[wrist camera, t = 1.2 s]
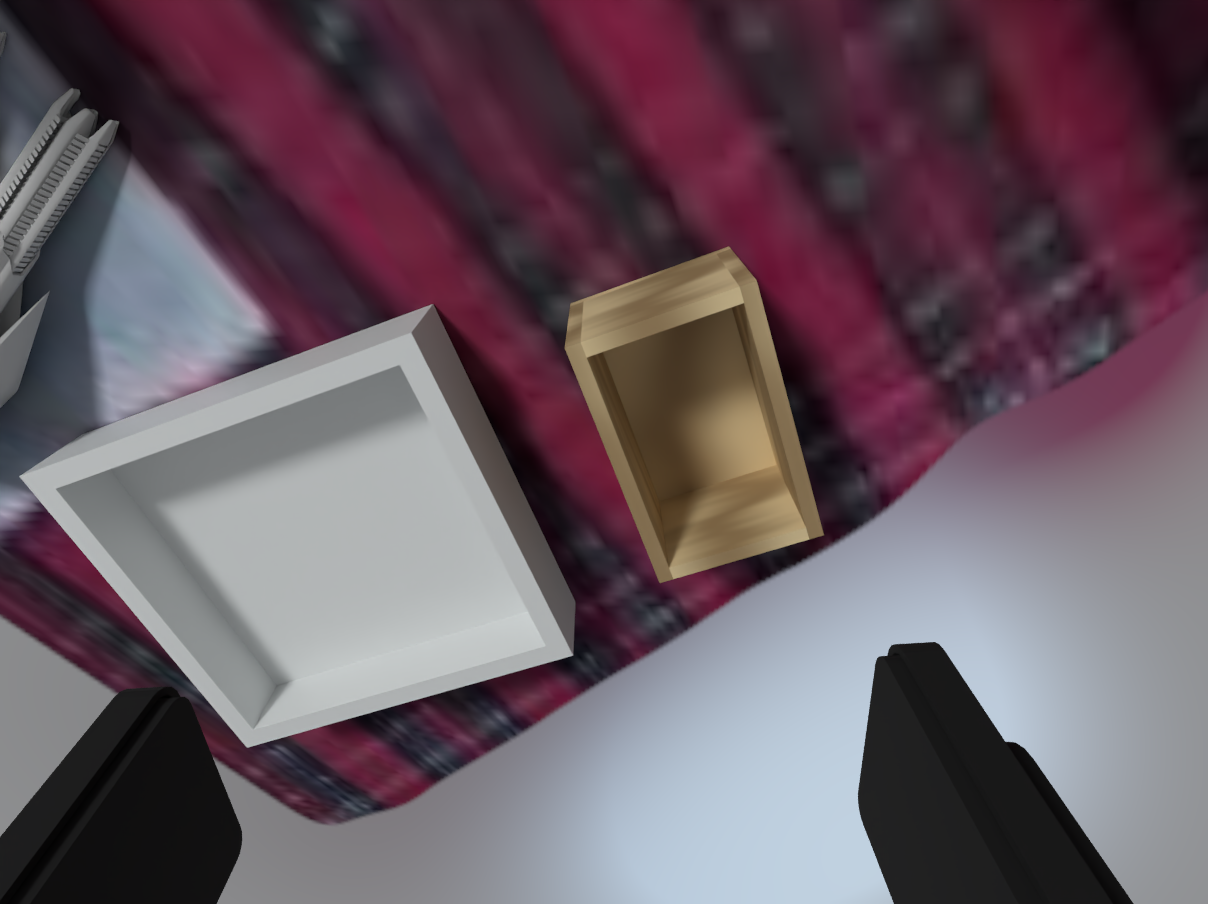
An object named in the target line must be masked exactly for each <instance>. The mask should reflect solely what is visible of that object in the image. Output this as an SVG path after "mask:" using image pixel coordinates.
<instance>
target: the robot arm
mask: <svg viewBox="0 0 1208 904" xmlns="http://www.w3.org/2000/svg"><path fill="white" fill-rule="evenodd" d="M858 804H859V810H860V815H861V819H862V822H863V825H864V828H865V830H866V833H867V835H868V838H869V840H870V843H871V846H872V848H873V851H874V853H875V856H876V858H877V861H878V864H879V866H880V869H881V871H882V874H883V877H884V879H885V882H886V884H887V887H888V889H889V892H890V895H891V896H892V900H893V902H894V904H1133V902H1132V901H1131V900H1130V898H1129V897H1128V895H1127V894H1126V892H1125V891H1124V889H1123V888H1122V886H1121V885H1120V884H1119V882H1118V881H1117V879H1116V878H1115V877H1114V875H1113V873H1112V872H1111V870H1110V869H1109V868H1108V866H1107V865H1106V863H1105V862H1104V860H1103V859H1102V857H1101V856H1100V855H1099V853H1098V852H1097V850H1096V849H1095V847H1094V846H1093V844H1092V843H1091V842H1090V840H1089V839H1088V837H1087V836H1086V834H1085V833H1084V832H1083V830H1082V829H1081V827H1080V826H1079V824H1078V823H1077V821H1076V820H1075V818H1074V817H1073V816H1072V814H1071V813H1070V811H1069V810H1068V808H1067V807H1066V806H1065V804H1064V803H1063V801H1062V800H1061V798H1060V797H1059V795H1058V794H1057V792H1056V791H1055V789H1054V788H1053V787H1052V785H1051V784H1050V782H1049V781H1048V779H1047V778H1046V776H1045V775H1044V774H1043V772H1042V771H1041V770H1040V768H1039V766H1038V765H1037V763H1036V762H1035V761H1034V759H1033V758H1032V757H1031V756H1030V755H1029V753H1028V752H1027V751H1026V750H1025V749H1024V748H1023V747H1021V746H1020V745H1018V744H1017V743H1014V742H1005V741H1004V739H1003V738H1002V736H1001V735H1000V733H999V732H998V730H997V729H996V727H995V726H994V724H993V723H992V721H991V720H990V718H989V717H988V715H987V714H986V712H985V711H984V709H983V708H982V706H981V705H980V703H979V702H978V700H977V699H976V697H975V696H974V694H973V693H972V691H971V690H970V688H969V687H968V685H967V684H966V682H965V681H964V679H963V678H962V676H961V675H960V673H959V672H958V670H957V669H956V667H955V666H954V664H953V663H952V661H951V660H950V658H949V657H948V655H947V654H946V652H945V651H944V650H943V648H942V647H941V646H940V645H939V644H937V643H936V642H928V643H911V644H895V645H892V646H891V647H890V649H889V652H888V656H881V657H878V658H877V661H876V664H875V672H874V679H873V686H872V694H871V701H870V709H869V716H868V723H867V731H866V739H865V746H864V753H863V761H862V768H861V776H860V783H859V790H858ZM241 845H242V831H241V827H240V824H239V822H238V819H237V817H236V814H235V812H234V809H233V807H232V804H231V802H230V799H229V797H228V794H227V792H226V789H225V787H224V785H223V782H222V780H221V777H220V775H219V772H218V770H217V767H216V765H215V762H214V760H213V757H212V755H211V752H210V750H209V747H208V745H207V742H206V740H205V737H204V735H203V732H202V730H201V727H200V725H199V722H198V720H197V717H196V715H195V712H194V710H193V708H192V705H191V703H190V701H189V700H188V699H187V698H185V697H180V695H179V694H178V692H177V690H175V689H174V688H172V687H153V688H136V689H126V690H123V691H121V692H119V693H118V694H117V695H116V696H115V697H114V698H113V700H112V701H111V702H110V703H109V704H108V705H107V707H106V708H105V709H104V710H103V712H102V713H101V714H100V715H99V717H98V718H97V719H96V720H95V721H94V723H93V724H92V725H91V726H90V728H89V729H88V730H87V731H86V732H85V734H84V735H83V736H82V737H81V739H80V740H79V741H78V742H77V743H76V745H75V746H74V747H73V748H72V750H71V751H70V752H69V753H68V755H67V756H66V757H65V758H64V760H63V761H62V762H61V763H60V764H59V766H58V767H57V768H56V769H55V771H54V772H53V773H52V774H51V775H50V777H49V778H48V779H47V780H46V782H45V783H44V784H43V785H42V786H41V788H40V789H39V790H38V791H37V793H36V794H35V795H34V796H33V798H32V799H31V800H30V801H29V803H28V804H27V805H26V806H25V807H24V808H23V810H22V811H21V812H20V813H19V815H18V816H17V817H16V818H15V820H14V821H13V822H12V823H11V824H10V826H9V827H8V828H7V829H6V831H5V832H4V833H3V834H2V835H1V837H0V904H217V902H218V899H219V897H220V895H221V893H222V891H223V889H224V887H225V885H226V883H227V881H228V878H229V876H230V874H231V872H232V870H233V868H234V866H235V864H236V861H237V859H238V857H239V854H240V850H241Z"/></svg>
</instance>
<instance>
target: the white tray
mask: <svg viewBox="0 0 1208 904" xmlns="http://www.w3.org/2000/svg"><path fill="white" fill-rule="evenodd" d="M19 477H20V478H21V479H22V480H23V482H24V483H25V484H26V485H27V486H28V488H29V489H30V490H31V491H32V492H33V493H34V495H35V496H36V497H37V498H38V499H39V501H40V502H41V503H42V504H43V505H44V507H45V508H46V509H47V510H48V511H49V513H50V514H51V515H52V516H53V517H54V518H55V520H56V521H57V522H58V523H59V524H60V526H61V527H62V528H63V529H64V530H65V532H66V533H67V534H68V535H69V536H70V538H71V539H72V540H73V541H74V542H75V543H76V545H77V546H78V547H79V548H80V549H81V551H82V552H83V553H84V554H85V555H86V557H87V558H88V559H89V560H90V561H91V562H92V564H93V565H94V566H95V567H96V568H97V570H98V571H99V572H100V573H101V574H102V576H103V577H104V578H105V579H106V580H107V582H108V583H109V584H110V585H111V586H112V587H113V589H114V590H115V591H116V592H117V593H118V595H119V596H120V597H121V598H122V599H123V601H124V602H125V603H126V604H127V605H128V607H129V608H130V609H131V610H132V611H133V612H134V614H135V615H136V616H137V617H138V618H139V620H140V621H141V622H142V623H143V624H144V626H145V627H146V628H147V629H148V630H149V632H150V633H151V634H152V635H153V636H154V637H155V639H156V640H157V641H158V642H159V643H160V645H161V646H162V647H163V648H164V649H165V651H166V652H167V653H168V654H169V655H170V656H171V658H172V659H173V660H174V661H175V662H176V664H177V665H178V666H179V667H180V668H181V670H182V671H183V672H184V673H185V674H186V676H187V677H188V678H189V679H190V680H191V681H192V683H193V684H194V685H195V686H196V687H197V689H198V690H199V691H200V692H201V693H202V695H203V696H204V697H205V698H206V699H207V701H208V702H209V703H210V704H211V705H212V706H213V708H214V709H215V710H216V711H217V712H218V714H219V715H220V716H221V717H222V718H223V720H224V721H225V722H226V723H227V724H228V726H229V727H230V728H231V729H232V730H233V731H234V733H235V734H236V735H237V736H238V737H239V739H240V740H241V741H242V742H243V743H244V745H245V746H246V747H251V746H254V745H258V744H261V743H265V742H268V741H272V740H276V739H279V738H283V737H286V736H290V735H293V734H297V733H300V732H304V731H307V730H311V729H315V728H318V727H322V726H325V725H329V724H332V723H336V722H339V721H343V720H346V719H350V718H354V717H357V716H361V715H364V714H368V713H371V712H375V711H378V710H382V709H385V708H389V707H393V706H396V705H400V704H403V703H407V702H410V701H414V700H417V699H421V698H424V697H428V696H432V695H435V694H439V693H442V692H446V691H449V690H453V689H456V688H460V687H463V686H467V685H471V684H474V683H478V682H481V681H485V680H488V679H492V678H495V677H499V676H502V675H506V674H510V673H513V672H517V671H520V670H524V669H527V668H531V667H534V666H538V665H541V664H545V663H549V662H552V661H556V660H559V659H563V658H566V657H570V656H573V647H574V625H575V600H574V598H573V596H572V594H571V591H570V589H569V587H568V585H567V583H566V581H565V579H564V577H563V575H562V573H561V571H560V568H559V566H558V564H557V562H556V560H555V558H554V556H553V554H552V552H551V550H550V548H549V545H548V543H547V541H546V539H545V537H544V535H543V533H542V531H541V529H540V527H539V524H538V522H537V520H536V518H535V516H534V514H533V512H532V510H531V508H530V506H529V504H528V501H527V499H526V497H525V495H524V493H523V491H522V489H521V487H520V485H519V483H518V481H517V478H516V476H515V474H514V472H513V470H512V468H511V466H510V464H509V462H508V460H507V458H506V455H505V453H504V451H503V449H502V447H501V445H500V443H499V441H498V439H497V437H496V434H495V432H494V430H493V428H492V426H491V424H490V422H489V420H488V418H487V416H486V414H485V411H484V409H483V407H482V405H481V403H480V401H479V399H478V397H477V395H476V393H475V391H474V388H473V386H472V384H471V382H470V380H469V378H468V376H467V374H466V372H465V370H464V368H463V365H462V363H461V361H460V359H459V357H458V355H457V353H456V351H455V349H454V347H453V344H452V342H451V340H450V338H449V336H448V334H447V332H446V330H445V328H444V326H443V324H442V321H441V319H440V317H439V315H438V313H437V311H436V309H435V307H434V305H433V304H432V305H429V306H426V307H424V308H421V309H418V310H415V311H413V312H410V313H407V314H405V315H402V316H399V317H397V318H394V319H391V320H389V321H386V322H383V323H381V324H378V325H375V326H372V327H370V328H367V329H364V330H362V331H359V332H356V333H354V334H351V335H348V336H346V337H343V338H340V339H337V340H335V341H332V342H329V343H327V344H324V345H321V346H319V347H316V348H313V349H311V350H308V351H305V352H302V353H300V354H297V355H294V356H292V357H289V358H286V359H284V360H281V361H278V362H276V363H273V364H270V365H268V366H265V367H262V368H259V369H257V370H254V371H251V372H249V373H246V374H243V375H241V376H238V377H235V378H233V379H230V380H227V381H224V382H222V383H219V384H216V385H214V386H211V387H208V388H206V389H203V390H200V391H198V392H195V393H192V394H189V395H187V396H184V397H181V398H179V399H176V400H173V401H171V402H168V403H165V404H163V405H160V406H157V407H155V408H152V409H149V410H146V411H144V412H141V413H138V414H136V415H133V416H130V417H128V418H125V419H122V420H120V421H117V422H114V423H111V424H109V425H106V426H103V427H101V428H98V429H95V430H93V431H90V432H87V433H85V434H82V435H80V436H79V437H77V438H76V439H74V440H73V441H71V442H70V443H68V444H67V445H65V446H64V447H62V448H61V449H59V450H58V451H56V452H55V453H53V454H52V455H50V456H49V457H47V458H46V459H44V460H43V461H42V462H40V463H39V464H37V465H36V466H34V467H33V468H31V469H30V470H28V471H27V472H25V473H24V474H22V475H21V476H19Z"/></svg>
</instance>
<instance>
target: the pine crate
mask: <svg viewBox="0 0 1208 904" xmlns="http://www.w3.org/2000/svg"><path fill="white" fill-rule="evenodd" d="M565 350H566V352H567V355H568V357H569V360H570V362H571V365H572V367H573V370H574V372H575V375H576V377H577V379H578V382H579V384H580V387H581V389H582V392H583V394H584V397H585V399H586V402H587V404H588V407H589V409H590V412H591V414H592V417H593V419H594V422H595V424H596V426H597V429H598V431H599V434H600V436H601V439H602V441H603V444H604V446H605V449H606V451H607V454H608V456H609V459H610V461H611V464H612V466H613V469H614V471H615V474H616V476H617V478H618V481H619V483H620V486H621V488H622V491H623V493H624V496H625V498H626V501H627V503H628V506H629V508H630V511H631V513H632V516H633V518H634V521H635V523H636V526H637V528H638V530H639V533H640V535H641V538H642V540H643V543H644V545H645V548H646V550H647V553H648V555H649V558H650V560H651V563H652V565H653V568H654V570H655V573H656V575H657V577H658V580H659V582H660V583H662V582H665V581H669V580H672V579H676V578H679V577H682V576H686V575H689V574H693V573H696V572H700V571H703V570H706V569H710V568H713V567H717V566H720V565H724V564H727V563H730V562H734V561H737V560H741V559H744V558H747V557H751V556H754V555H758V554H761V553H765V552H768V551H771V550H775V549H778V548H782V547H785V546H789V545H792V544H795V543H799V542H802V541H806V540H809V539H813V538H816V537H819V536H823V535H824V534H823V530H822V526H821V522H820V519H819V515H818V511H817V507H816V503H815V500H814V496H813V492H812V488H811V484H810V481H809V477H808V473H807V469H806V466H805V462H804V458H803V454H802V450H801V447H800V443H799V439H798V435H797V431H796V428H795V424H794V420H793V416H792V412H791V409H790V405H789V401H788V397H787V394H786V390H785V386H784V382H783V378H782V375H781V371H780V367H779V363H778V359H777V356H776V352H775V348H774V344H773V340H772V337H771V333H770V329H769V325H768V322H767V318H766V314H765V310H764V306H763V303H762V299H761V295H760V291H759V287H758V284H757V280H756V279H755V278H754V277H753V275H752V274H751V273H750V272H749V271H748V269H747V268H746V267H745V266H744V264H743V263H742V262H741V261H740V260H739V258H738V257H737V256H736V255H735V253H734V252H733V251H732V250H731V249H730V247H726V248H724V249H721V250H718V251H715V252H713V253H710V254H707V255H704V256H701V257H699V258H696V259H693V260H690V261H688V262H685V263H682V264H679V265H676V266H674V267H671V268H668V269H665V270H663V271H660V272H657V273H654V274H652V275H649V276H646V277H643V278H640V279H638V280H635V281H632V282H629V283H627V284H624V285H621V286H618V287H615V288H613V289H610V290H607V291H604V292H602V293H599V294H596V295H593V296H590V297H588V298H585V299H582V300H579V301H577V302H574V303H571V304H570V312H569V320H568V327H567V335H566V343H565Z"/></svg>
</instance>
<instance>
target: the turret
mask: <svg viewBox="0 0 1208 904" xmlns="http://www.w3.org/2000/svg"><path fill="white" fill-rule="evenodd" d="M5 40H6V32H2V33H1V32H0V58H1V56H2V53H3V49H4V45H5ZM79 96H80V91H79V89H73V88H71V89H69V90H68V91H67V92H66V93H65V94H63V95H62V96H61V97H60V98H59V99H57V100H56V101H55V102H54V103H53V104H52V106H51V107H50V109H49V110H48V112H47V114H46V115H45V117H44V118H43V120H42V121H41V123H40V124H39V126H38V127H37V129H36V130H35V132H34V133H33V135H32V137H31V138H30V140H29V141H28V143H27V144H26V146H25V147H24V149H23V150H22V152H21V153H20V155H19V156H18V158H17V159H16V161H15V163H14V164H13V166H12V167H11V169H10V170H9V172H8V173H7V175H6V176H5V178H4V179H3V181H2V182H1V184H0V408H1V407H2V406H3V405H4V404H5V403H6V402H7V401H8V400H9V399H10V398H11V397H12V396H13V395H14V394H15V393H16V392H17V391H18V388H19V385H20V382H21V379H22V376H23V373H24V370H25V367H26V363H27V360H28V357H29V354H30V351H31V348H32V345H33V341H34V338H35V335H36V332H37V329H38V326H39V323H40V320H41V316H42V313H43V310H44V307H45V304H46V301H47V298H48V295H49V292H48V293H47V294H46V295H45V296H43V297H42V298H41V299H40V300H39V301H38V302H37V303H36V304H35V305H34V306H33V307H32V308H31V309H30V310H29V311H28V312H27V313H26V314H25V315H23V316H22V317H21V318H20V310H21V299H22V289H23V280H24V279H25V277H26V276H27V274H28V273H29V271H30V270H31V268H32V267H33V266H34V264H35V263H36V261H37V260H38V258H39V255H40V249H41V247H42V246H43V244H44V243H45V242H46V240H47V239H48V237H49V236H50V234H51V233H52V231H53V230H54V228H55V227H56V225H57V224H58V222H59V221H60V219H61V218H62V217H63V215H64V214H65V212H66V211H67V209H68V208H69V206H70V205H71V203H72V202H73V200H74V199H75V197H76V196H77V194H78V193H79V192H80V190H81V189H82V187H83V186H84V184H85V183H86V181H87V180H88V178H89V177H90V175H91V174H92V172H93V171H94V169H95V168H96V167H97V165H98V164H99V162H100V161H101V159H102V158H103V156H104V155H105V153H106V152H107V150H108V149H109V147H110V145H111V144H112V143H113V141H114V138H115V135H116V132H117V128H118V125H119V121H114V120H109V121H108V122H107V123H106V124H104V125H103V126H102V127H101V128H100V129H99V130H98V131H97V132H96V133H95V129H96V124H97V120H98V112H97V111H95V110H93V109H87V108H85V109H83V110H81V111H80V112H78V113H77V114H76V115H74V116H73V117H72V115H71V114H70V112H69V111H70V110H71V108H72V106H73V105H74V103H75V102H76V101H78V99H79ZM94 119H95V122H94ZM93 123H94V125H93ZM92 126H93V129H92ZM91 129H92V132H91ZM90 132H91V134H90ZM94 133H95V134H94ZM89 135H90V136H89ZM112 135H113V136H112ZM88 137H89V138H88ZM111 138H112V139H111ZM110 140H111V141H110Z"/></svg>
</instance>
